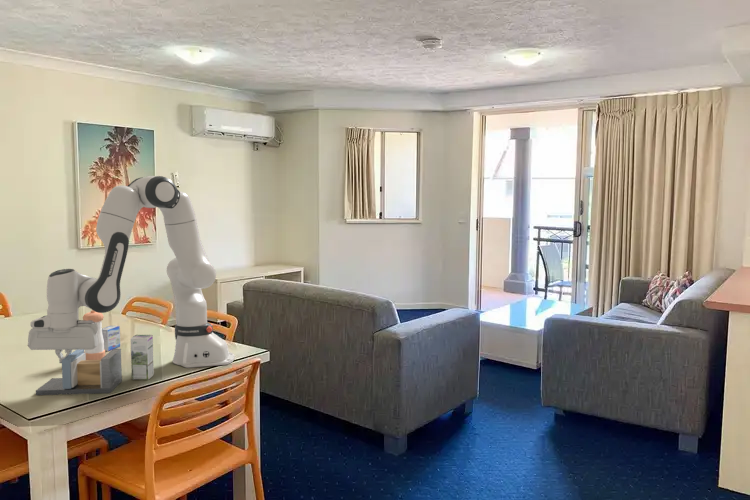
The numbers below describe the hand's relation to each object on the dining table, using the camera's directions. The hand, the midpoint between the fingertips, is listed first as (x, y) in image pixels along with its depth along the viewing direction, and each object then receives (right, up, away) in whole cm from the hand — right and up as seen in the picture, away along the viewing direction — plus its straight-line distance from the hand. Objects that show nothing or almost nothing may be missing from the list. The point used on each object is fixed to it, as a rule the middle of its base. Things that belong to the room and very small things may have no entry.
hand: (64, 362), depth 186 cm
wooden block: (+9, -7, +2) cm, 11 cm away
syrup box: (+20, -8, +12) cm, 25 cm away
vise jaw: (+3, -7, +1) cm, 7 cm away
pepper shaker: (-5, -6, +31) cm, 32 cm away
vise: (+5, -8, +1) cm, 10 cm away
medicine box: (-7, -4, +48) cm, 49 cm away
